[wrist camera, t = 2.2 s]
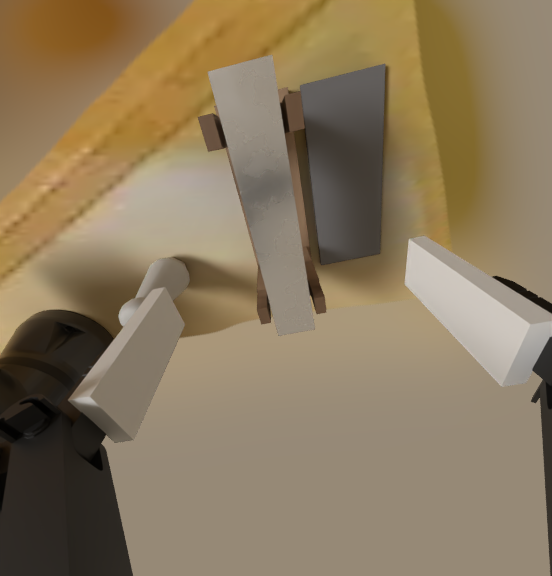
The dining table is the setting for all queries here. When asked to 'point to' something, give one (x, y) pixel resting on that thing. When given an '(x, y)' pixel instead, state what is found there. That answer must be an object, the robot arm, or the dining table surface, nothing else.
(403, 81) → the dining table surface
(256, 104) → the metal rail
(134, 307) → the salt shaker
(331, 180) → the rubber mat
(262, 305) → the bracket stand
